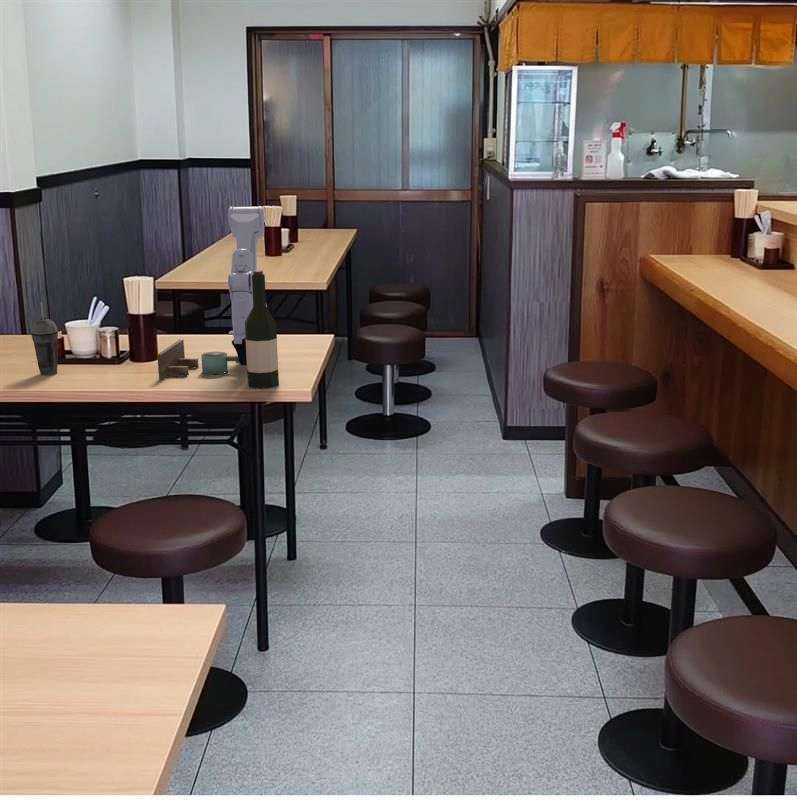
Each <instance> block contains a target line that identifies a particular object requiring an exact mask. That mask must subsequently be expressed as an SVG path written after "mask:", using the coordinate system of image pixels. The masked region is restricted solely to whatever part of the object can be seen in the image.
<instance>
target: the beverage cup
mask: <svg viewBox="0 0 797 800" xmlns="http://www.w3.org/2000/svg"><path fill="white" fill-rule="evenodd" d="M39 304H40V314H41V318H39V319H37V320H35V321H34V323H33V324H32V326H31V329H30V335H31V340H32V342H33V346H34V349H35V356H36V361H37V366H38V370H39V375H40V376H54V375H57V374H58V338H59V337H58V336H59V330H58V326H57V325H56V323H55V322H54V321H53V320H51V319H50V318H46V317H45V315H44V306H43V301H40V302H39Z"/></svg>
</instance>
